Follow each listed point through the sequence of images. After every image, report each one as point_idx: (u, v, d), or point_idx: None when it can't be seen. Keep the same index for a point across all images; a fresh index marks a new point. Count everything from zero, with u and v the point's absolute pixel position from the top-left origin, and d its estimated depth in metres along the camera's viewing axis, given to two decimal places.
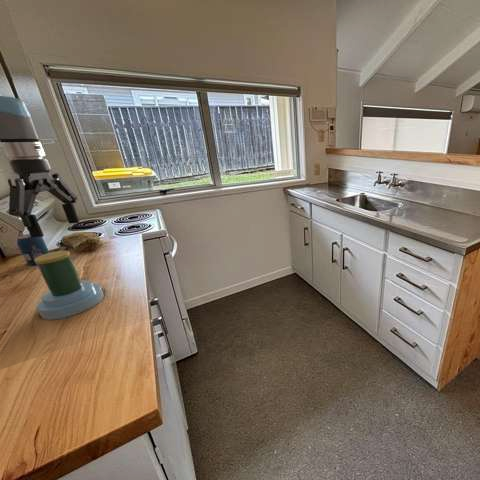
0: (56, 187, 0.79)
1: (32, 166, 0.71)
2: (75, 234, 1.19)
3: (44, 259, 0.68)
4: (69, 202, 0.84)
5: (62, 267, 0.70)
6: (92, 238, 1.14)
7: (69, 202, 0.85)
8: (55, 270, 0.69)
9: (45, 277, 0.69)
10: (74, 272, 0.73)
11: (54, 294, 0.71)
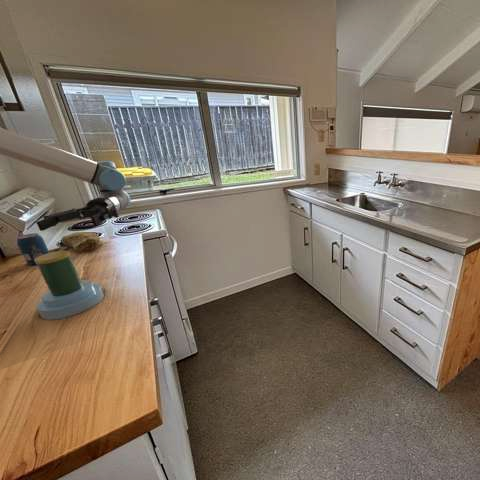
0: (80, 218, 0.88)
1: None
2: (75, 234, 1.19)
3: (44, 259, 0.68)
4: None
5: (62, 267, 0.70)
6: (92, 238, 1.14)
7: None
8: (55, 270, 0.69)
9: (45, 277, 0.69)
10: (74, 272, 0.73)
11: (54, 294, 0.71)
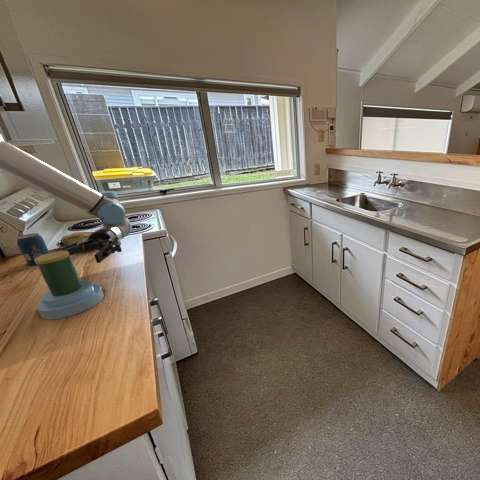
0: None
1: (113, 245, 0.96)
2: (75, 234, 1.19)
3: (44, 259, 0.68)
4: None
5: (62, 267, 0.70)
6: None
7: None
8: (55, 270, 0.69)
9: (45, 277, 0.69)
10: (74, 272, 0.73)
11: (54, 294, 0.71)
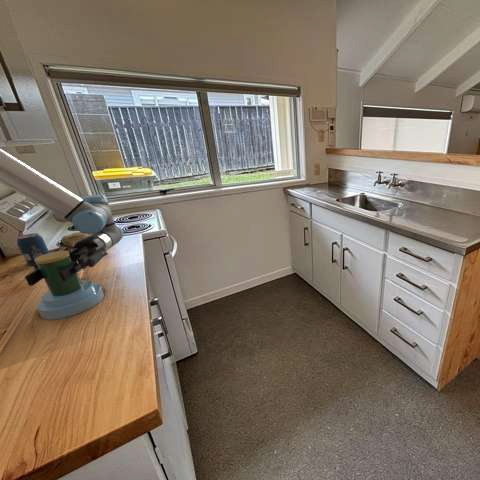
0: None
1: None
2: (75, 234, 1.19)
3: (44, 259, 0.68)
4: None
5: (62, 267, 0.70)
6: None
7: None
8: (55, 270, 0.69)
9: (45, 277, 0.69)
10: None
11: (54, 294, 0.71)
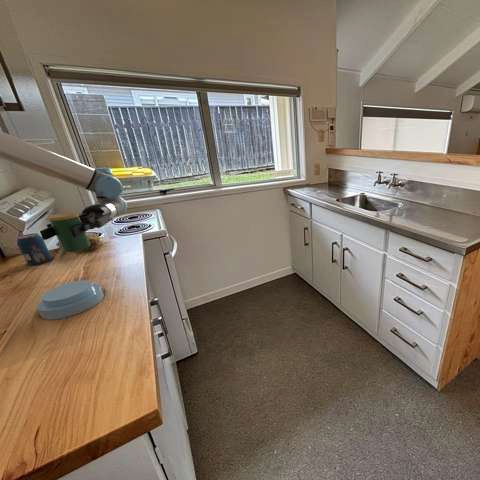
0: None
1: None
2: None
3: (56, 216, 0.75)
4: None
5: (73, 225, 0.78)
6: (92, 238, 1.14)
7: None
8: (66, 227, 0.76)
9: (57, 233, 0.77)
10: None
11: (65, 250, 0.78)
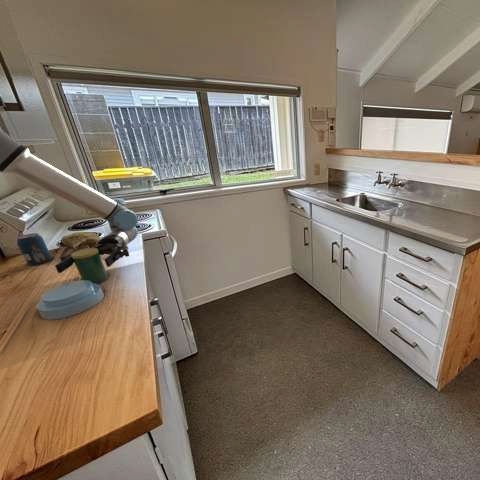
0: None
1: (121, 249, 1.02)
2: (75, 234, 1.19)
3: (79, 255, 0.83)
4: None
5: (93, 261, 0.85)
6: (92, 238, 1.14)
7: None
8: (87, 264, 0.84)
9: (79, 270, 0.84)
10: (102, 266, 0.88)
11: None
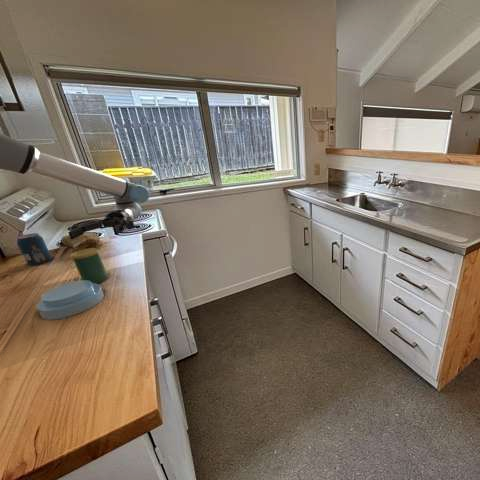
0: None
1: None
2: None
3: (79, 255, 0.83)
4: None
5: (93, 261, 0.85)
6: (92, 238, 1.14)
7: None
8: (87, 264, 0.84)
9: (79, 270, 0.84)
10: (102, 266, 0.88)
11: None
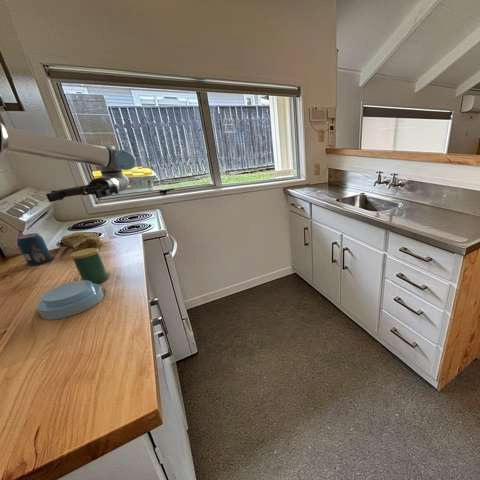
0: None
1: None
2: (75, 234, 1.19)
3: (79, 255, 0.83)
4: None
5: (93, 261, 0.85)
6: (92, 238, 1.14)
7: None
8: (87, 264, 0.84)
9: (79, 270, 0.84)
10: (102, 266, 0.88)
11: None
